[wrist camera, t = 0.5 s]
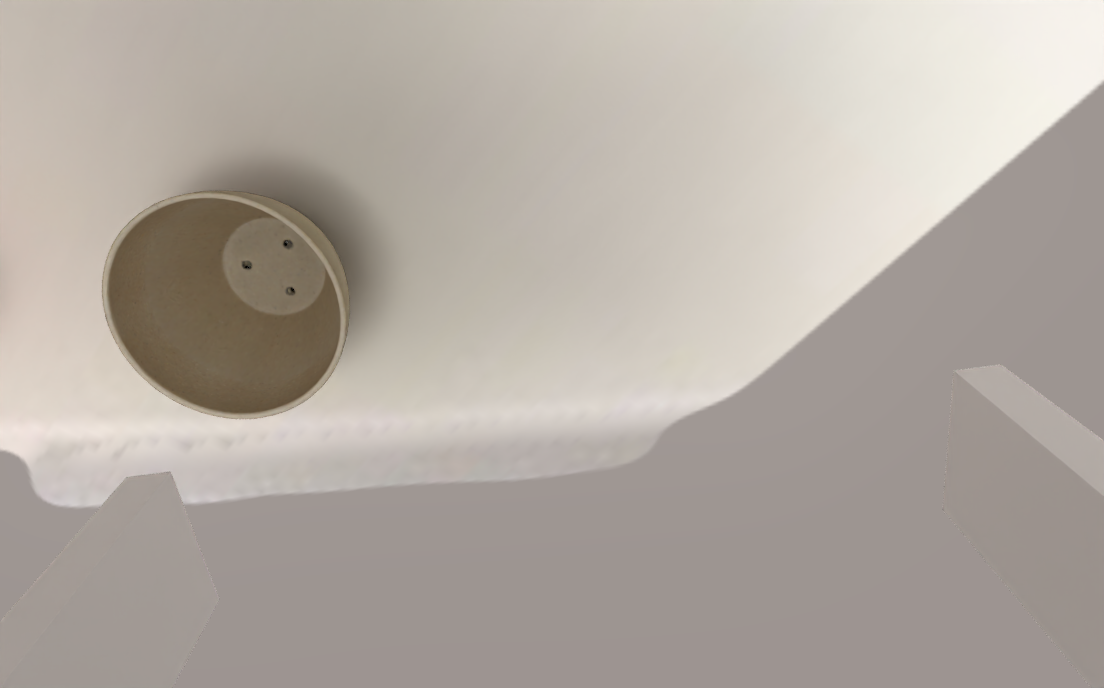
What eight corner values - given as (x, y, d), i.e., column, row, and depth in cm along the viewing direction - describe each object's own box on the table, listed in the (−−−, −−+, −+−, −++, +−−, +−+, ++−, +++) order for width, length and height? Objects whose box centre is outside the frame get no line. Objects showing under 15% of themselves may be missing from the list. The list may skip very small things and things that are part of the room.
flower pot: (404, 210, 38) (377, 250, 31) (343, 380, 41) (307, 449, 35) (200, 128, 36) (126, 153, 29) (155, 313, 40) (79, 372, 33)
